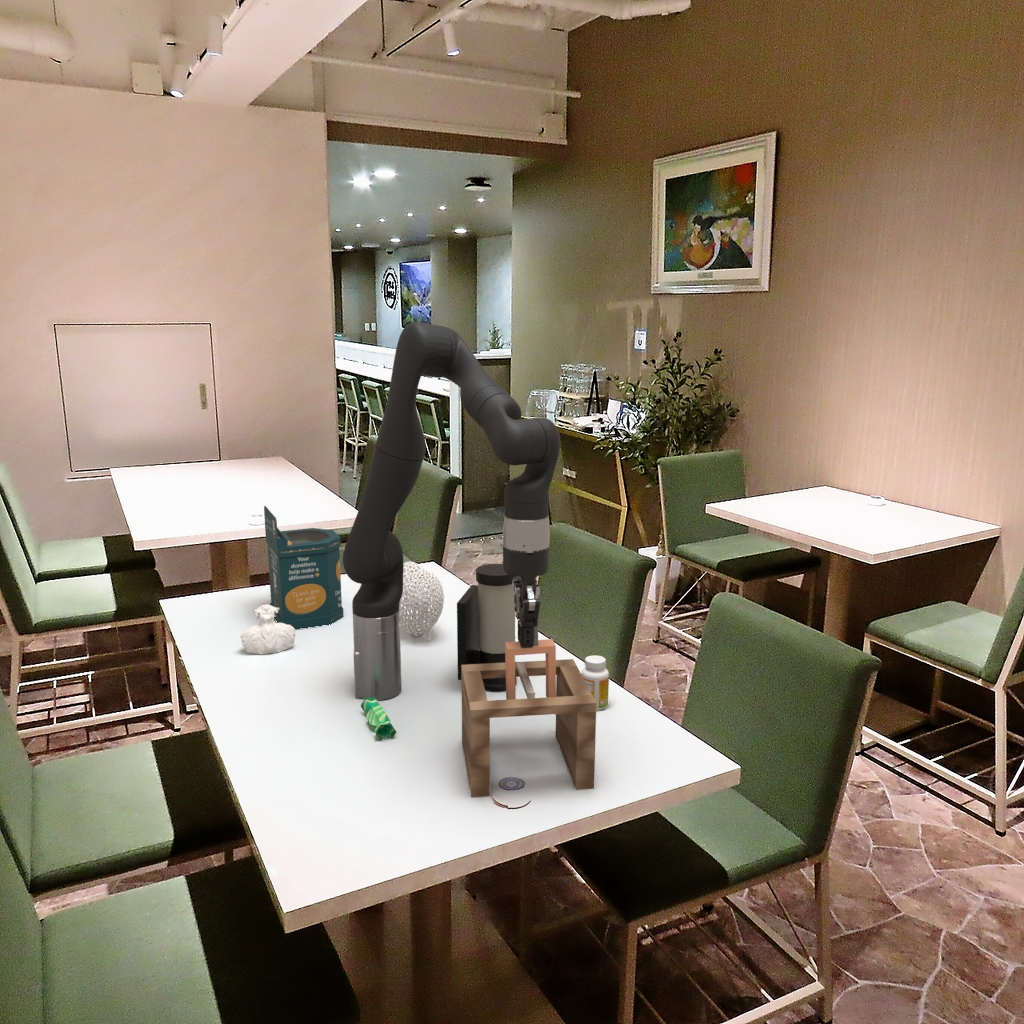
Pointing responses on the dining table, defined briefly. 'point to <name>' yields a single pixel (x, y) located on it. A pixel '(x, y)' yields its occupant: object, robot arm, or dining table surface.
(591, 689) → the supplement bottle
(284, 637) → the bust
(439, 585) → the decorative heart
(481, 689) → the wooden frame stand
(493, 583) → the light fixture
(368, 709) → the candy
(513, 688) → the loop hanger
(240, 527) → the dining table surface
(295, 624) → the donation box
